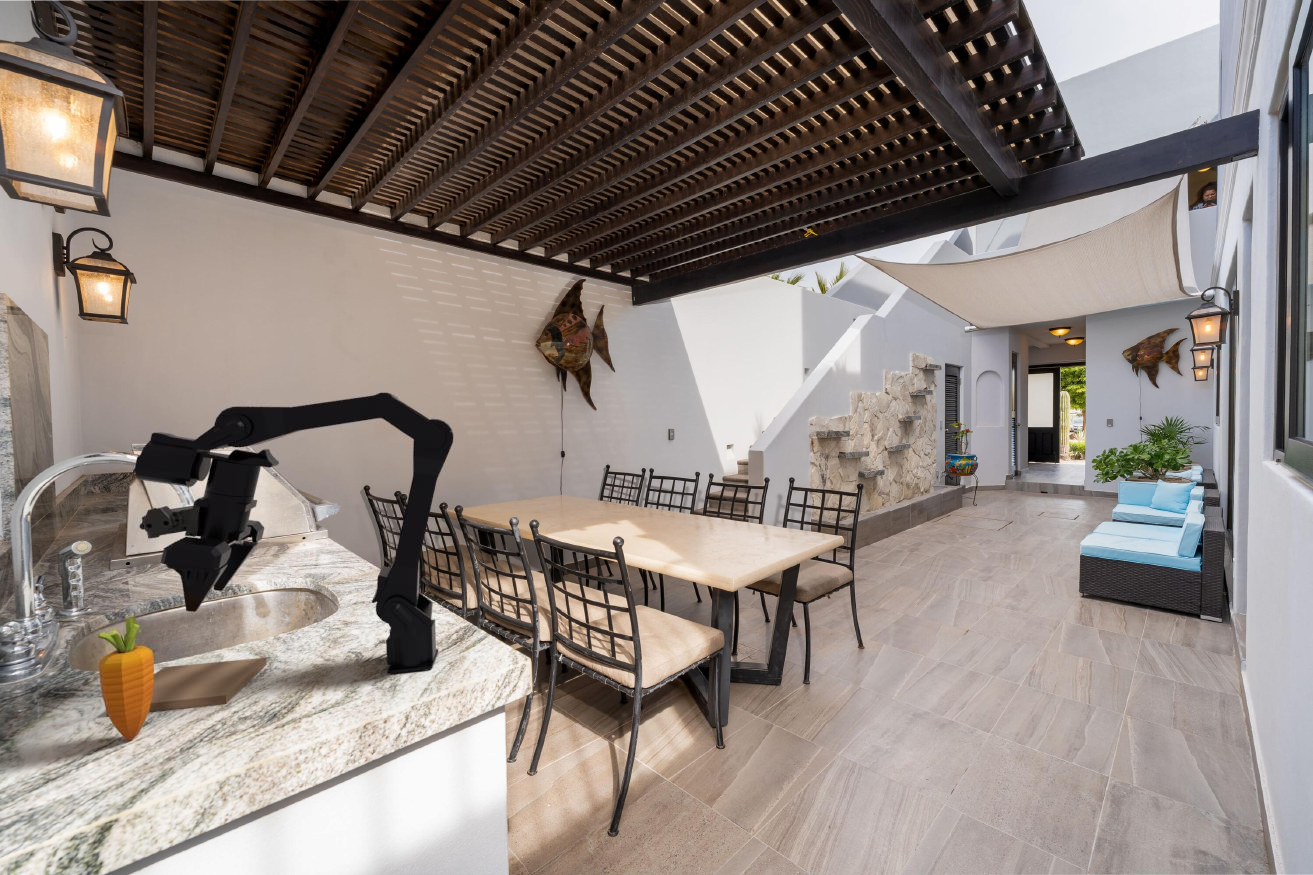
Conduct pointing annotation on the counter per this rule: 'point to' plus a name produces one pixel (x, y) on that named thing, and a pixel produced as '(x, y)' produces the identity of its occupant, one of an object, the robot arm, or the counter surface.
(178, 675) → the walnut board
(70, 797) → the counter surface
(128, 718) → the carrot
